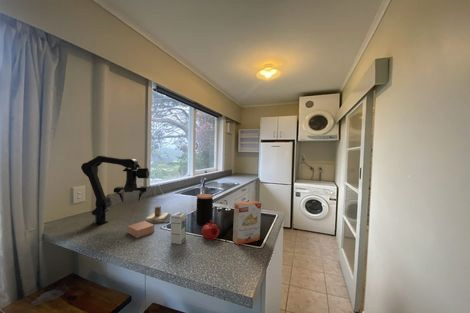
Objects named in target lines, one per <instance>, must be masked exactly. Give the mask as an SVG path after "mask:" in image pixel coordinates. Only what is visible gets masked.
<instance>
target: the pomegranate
mask: <svg viewBox="0 0 470 313" xmlns="http://www.w3.org/2000/svg"><path fill="white" fill-rule="evenodd" d="M219 235H220V229H219V227H218V224H217V223H214V221H213V220H212V221H210V224H209V223H208V224H207V225H206V224H205V225H202V227H201V236H202V238H204V239H206V240H210V241H211V240H212V241H213V240H216V239H217V238H218V237H219Z"/></svg>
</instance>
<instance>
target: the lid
mask: <svg viewBox="0 0 470 313" xmlns="http://www.w3.org/2000/svg"><path fill="white" fill-rule="evenodd" d="M161 210H162V206H161V205H157V206H154V212H152V213H151V212H150V214H148V215H149V216H148V217H147V218H146V217H145V218H146V221H150V222H164V221H165V219H166V218H167V217H168V216H169V214H170V213H169V212H162V211H161Z"/></svg>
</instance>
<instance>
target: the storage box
mask: <svg viewBox="0 0 470 313" xmlns="http://www.w3.org/2000/svg"><path fill="white" fill-rule="evenodd" d="M154 232H155V224H151V223H148V222H146V221H144V220H143V221H140V222H136V223H133V224H130V225H128V226H127V234H130V235H131V236H133V237H134V238H136V239H138V238H141V237H143V236H146V235H150V234H152V233H154Z"/></svg>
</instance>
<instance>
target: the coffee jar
mask: <svg viewBox="0 0 470 313" xmlns="http://www.w3.org/2000/svg"><path fill="white" fill-rule="evenodd" d="M213 197H214V195H213V194H212V193H211V194H210V193H199V194H197V195H196V212H195V213H196V214H195V215H196V216H195V217H196V219H195V222H196V223H197V225H201V226H205V224H206V225H207V224H208V223H209V224H210V221H212V222H213V212H214V210H213V207H214V206H213V205H214V199H213Z"/></svg>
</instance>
